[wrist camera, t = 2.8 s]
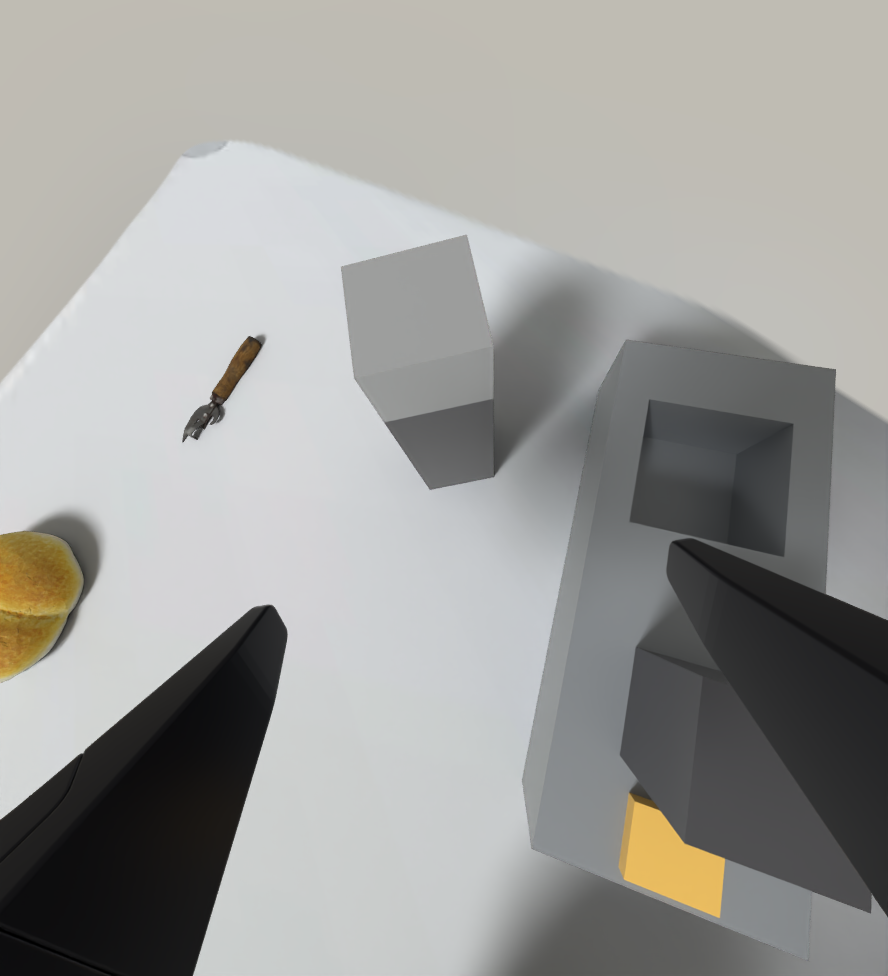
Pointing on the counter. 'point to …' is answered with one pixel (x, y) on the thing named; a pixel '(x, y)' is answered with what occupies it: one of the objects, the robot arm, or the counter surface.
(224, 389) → the can opener
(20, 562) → the bread roll
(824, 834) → the grey tray
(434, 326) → the plug
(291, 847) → the counter surface
